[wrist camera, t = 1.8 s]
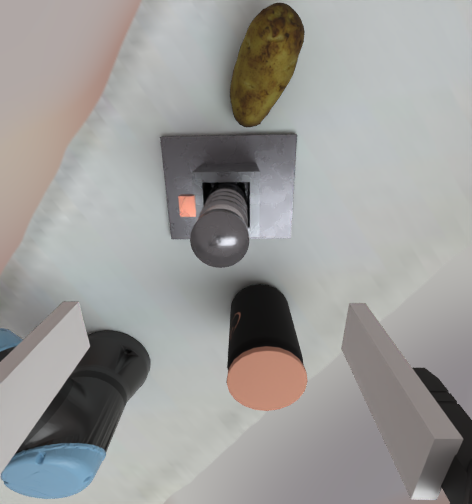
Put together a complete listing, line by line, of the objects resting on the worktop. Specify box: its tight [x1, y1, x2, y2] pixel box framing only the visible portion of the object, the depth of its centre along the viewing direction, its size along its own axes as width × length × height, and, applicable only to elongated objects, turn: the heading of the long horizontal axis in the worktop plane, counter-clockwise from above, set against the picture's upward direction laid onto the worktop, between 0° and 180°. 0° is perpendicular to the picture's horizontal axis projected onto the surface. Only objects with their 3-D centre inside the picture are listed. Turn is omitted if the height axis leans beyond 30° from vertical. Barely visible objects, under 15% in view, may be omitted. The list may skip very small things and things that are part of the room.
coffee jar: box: [227, 284, 307, 411], centre depth 46 cm, size 11×11×18 cm
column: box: [190, 182, 249, 268], centre depth 35 cm, size 5×5×22 cm
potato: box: [230, 3, 304, 127], centre depth 36 cm, size 8×13×8 cm, turn 139°
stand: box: [160, 134, 297, 239], centre depth 41 cm, size 20×16×11 cm
